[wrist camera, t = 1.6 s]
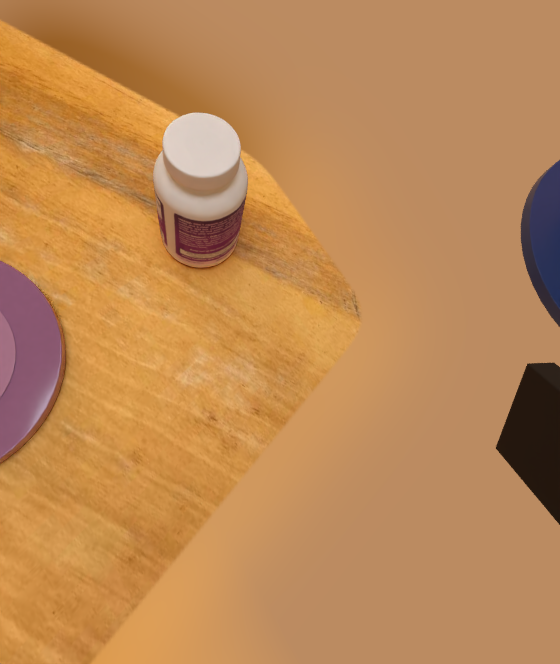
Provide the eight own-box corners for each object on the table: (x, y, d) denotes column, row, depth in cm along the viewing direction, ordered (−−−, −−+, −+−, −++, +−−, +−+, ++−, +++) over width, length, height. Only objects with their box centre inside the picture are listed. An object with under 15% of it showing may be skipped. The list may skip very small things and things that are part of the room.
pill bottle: (252, 231, 34) (275, 142, 25) (207, 284, 32) (214, 209, 23) (192, 187, 34) (193, 83, 25) (143, 238, 32) (125, 145, 23)
